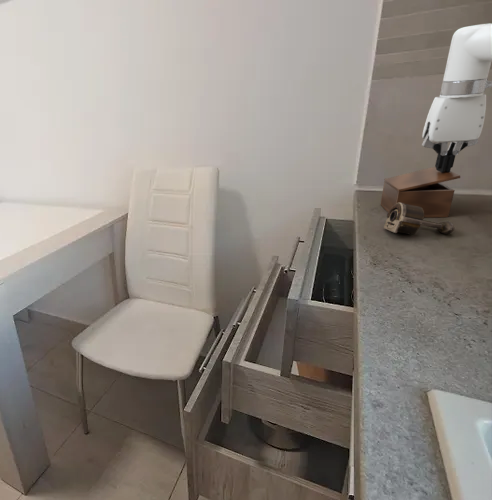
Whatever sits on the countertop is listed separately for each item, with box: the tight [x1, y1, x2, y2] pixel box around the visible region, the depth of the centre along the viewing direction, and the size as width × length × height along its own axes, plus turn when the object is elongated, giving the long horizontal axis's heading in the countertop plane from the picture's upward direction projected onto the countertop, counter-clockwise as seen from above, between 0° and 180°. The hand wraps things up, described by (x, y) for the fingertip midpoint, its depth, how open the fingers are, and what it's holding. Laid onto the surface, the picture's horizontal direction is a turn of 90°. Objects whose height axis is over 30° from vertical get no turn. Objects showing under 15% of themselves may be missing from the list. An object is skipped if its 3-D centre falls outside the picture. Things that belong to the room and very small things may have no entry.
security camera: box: [383, 202, 456, 235], centre depth 81 cm, size 7×13×10 cm
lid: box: [384, 166, 461, 192], centre depth 91 cm, size 12×10×1 cm
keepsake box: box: [379, 180, 455, 219], centre depth 93 cm, size 11×10×7 cm
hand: (442, 170), depth 89 cm, fingers closed
